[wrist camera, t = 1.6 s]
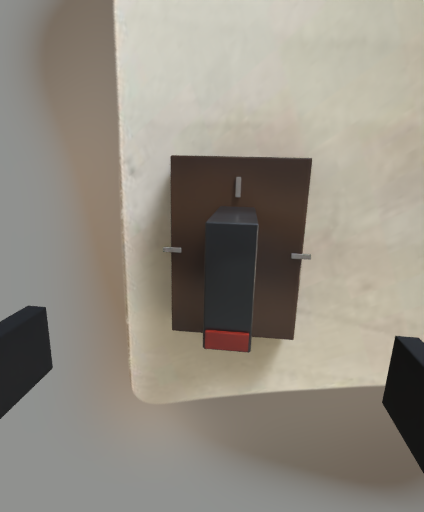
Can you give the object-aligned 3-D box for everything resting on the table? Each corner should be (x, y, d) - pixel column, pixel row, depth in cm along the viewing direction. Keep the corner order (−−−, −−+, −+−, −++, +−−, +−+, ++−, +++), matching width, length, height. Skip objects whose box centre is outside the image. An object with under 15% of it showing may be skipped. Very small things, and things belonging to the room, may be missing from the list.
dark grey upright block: (219, 206, 23) (204, 222, 15) (255, 207, 22) (259, 224, 15) (216, 294, 25) (201, 351, 17) (249, 296, 24) (250, 355, 16)
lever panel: (170, 157, 25) (161, 155, 22) (314, 160, 24) (321, 158, 21) (171, 316, 28) (164, 330, 26) (296, 326, 27) (301, 341, 25)
